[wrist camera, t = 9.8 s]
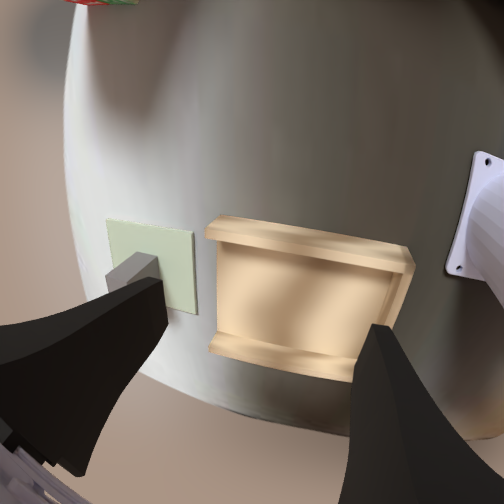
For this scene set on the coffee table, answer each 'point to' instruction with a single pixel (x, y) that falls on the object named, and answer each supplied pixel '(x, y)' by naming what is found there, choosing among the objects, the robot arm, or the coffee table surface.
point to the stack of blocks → (103, 2)
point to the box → (302, 294)
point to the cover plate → (168, 257)
